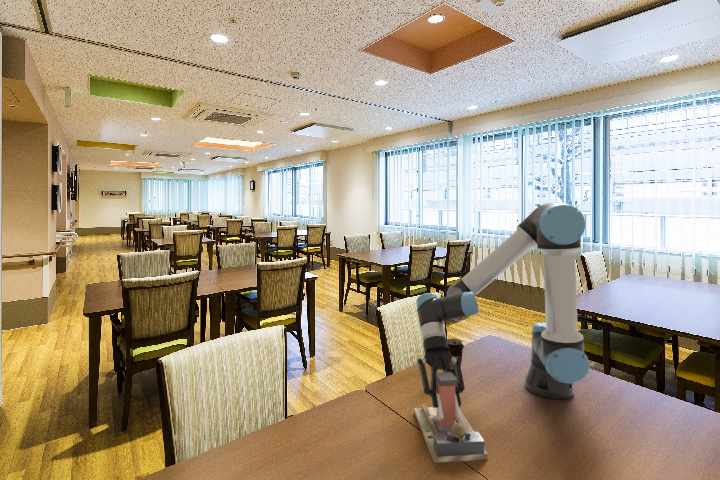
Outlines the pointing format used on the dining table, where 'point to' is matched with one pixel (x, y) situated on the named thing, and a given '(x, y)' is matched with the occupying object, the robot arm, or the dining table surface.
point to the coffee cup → (455, 351)
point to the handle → (446, 401)
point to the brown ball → (458, 430)
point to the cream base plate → (430, 429)
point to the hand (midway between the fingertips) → (449, 419)
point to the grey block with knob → (458, 444)
